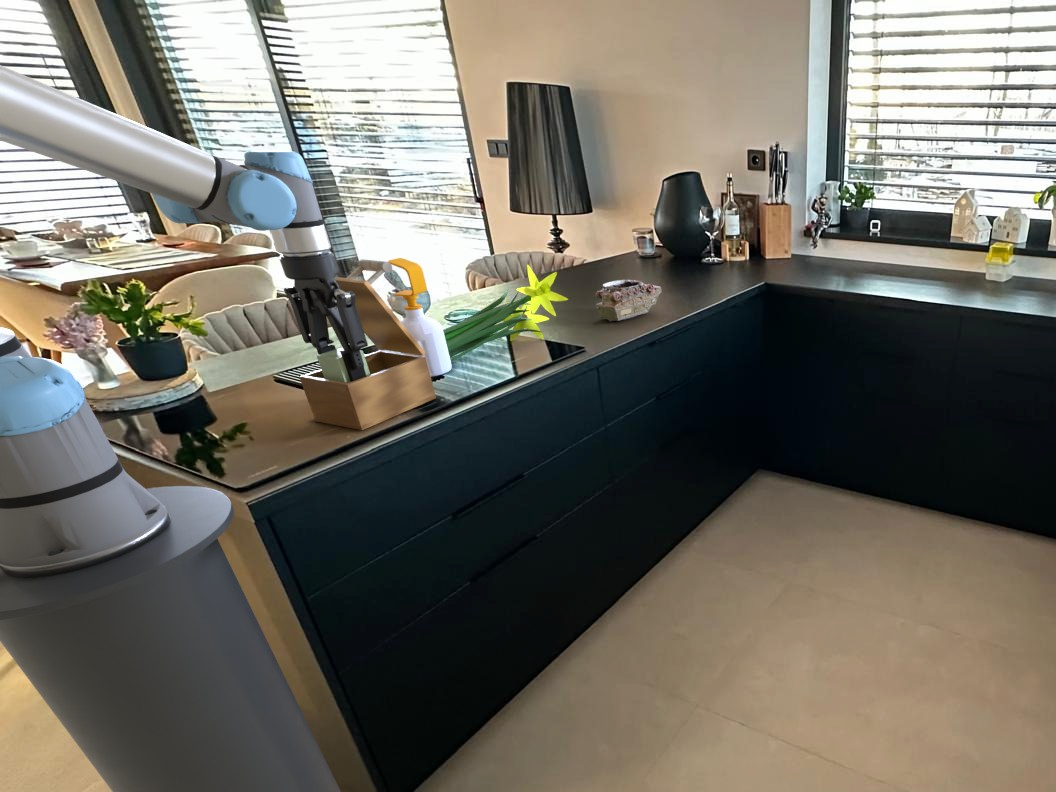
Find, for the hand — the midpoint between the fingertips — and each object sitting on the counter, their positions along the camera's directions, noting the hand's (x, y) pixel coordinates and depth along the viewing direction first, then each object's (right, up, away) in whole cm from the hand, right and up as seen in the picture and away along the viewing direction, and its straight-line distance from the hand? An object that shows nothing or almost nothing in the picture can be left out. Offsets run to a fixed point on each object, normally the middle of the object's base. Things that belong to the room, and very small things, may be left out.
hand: (348, 382), depth 115 cm
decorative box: (+32, +28, +73) cm, 84 cm away
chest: (+1, -5, +7) cm, 8 cm away
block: (0, 0, 0) cm, 0 cm away
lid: (+3, +12, +2) cm, 13 cm away
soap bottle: (0, +5, +26) cm, 26 cm away
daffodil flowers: (+9, +13, +41) cm, 44 cm away
